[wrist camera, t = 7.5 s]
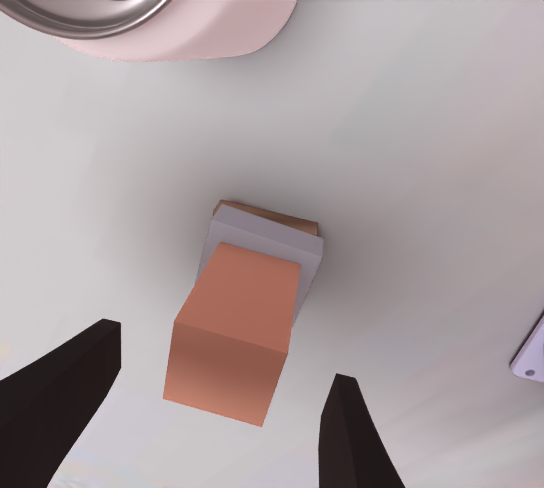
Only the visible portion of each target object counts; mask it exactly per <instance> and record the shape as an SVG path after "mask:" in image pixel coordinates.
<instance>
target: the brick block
mask: <svg viewBox="0 0 544 488" xmlns="http://www.w3.org/2000/svg"><path fill="white" fill-rule="evenodd" d="M300 267H301V264H297V263H294V262H290V261H287V260H283V259H280V258H276V257H273V256H269V255H266V254H262V253H258V252H255V251H251V250H248V249H244V248H241V247H237V246H234V245H230V244H226V243H223V242H220V243H219V244H218V246H217V248H216V250H215V251H214V253H213V255H212V256H211V258H210V260H209V262H208V263H207V265H206V267H205V269H204V270H203V272H202V274H201V276H200V277H199V279H198V281H197V282H196V284H195V286H194V288H193V289H192V291H191V293H190V295H189V296H188V298H187V300H186V302H185V303H184V305H183V307H182V308H181V310H180V312H179V314H178V315H177V317H176V319H175V321H174V326H173V333H172V339H171V346H170V353H169V360H168V366H167V373H166V380H165V387H164V394H163V399H166V400H169V401H173V402H176V403H180V404H183V405H187V406H190V407H194V408H197V409H200V410H204V411H207V412H211V413H214V414H218V415H221V416H225V417H228V418H232V419H235V420H239V421H242V422H246V423H249V424H253V425H256V426H260V427H262V425H263V422H264V419H265V417H266V414H267V411H268V408H269V405H270V403H271V400H272V397H273V394H274V391H275V388H276V386H277V383H278V380H279V377H280V374H281V371H282V369H283V366H284V363H285V360H286V357H287V354H288V349H289V342H290V335H291V328H292V322H293V315H294V308H295V301H296V294H297V287H298V281H299V274H300Z"/></svg>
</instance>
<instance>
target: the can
mask: <svg viewBox="0 0 544 488" xmlns="http://www.w3.org/2000/svg"><path fill="white" fill-rule="evenodd" d="M296 2H297V0H0V11H2V12H3V13H5V14H6V15H8V16H9V17H11V18H13V19H14V20H16V21H18V22H20V23H22V24H24V25H26V26H28V27H30V28H32V29H35V30H37V31H40V32H43V33H45V34H49V35H50V36H52V37H53V38H55V39H57V40H58V41H60V42H62V43H64V44H65V45H67V46H69V47H71V48H74V49H76V50H78V51H81V52H83V53H86V54H89V55H92V56H96V57H100V58H105V59H110V60H116V61H125V62H156V61H177V60H194V59H210V58H223V57H234V56H240V55H246V54H249V53H252V52H255V51H257V50H258V49H260V48H262V47H263V46H265V45H266V44H267V43H268V42H270V41H271V40H272V39H273V38H274V37H275V36H276V35H277V34H278V32H279V31H280V30H281V29H282V28H283V26H284V25H285V24H286V22H287V21H288V19H289V17H290V16H291V14H292V12H293V9H294V7H295V5H296Z"/></svg>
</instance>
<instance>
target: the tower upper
mask: <svg viewBox="0 0 544 488" xmlns="http://www.w3.org/2000/svg"><path fill="white" fill-rule="evenodd" d="M323 240H324V238H321V237H318V236H315V235H312V234H309V233H306V232H303V231H300V230H297V229H294V228H291V227H288V226H285V225H282V224H280V223H277V222H274V221H271V220H268V219H265V218H262V217H259V216H256V215H253V214H250V213H247V212H244V211H241V210H239V209H236V208H233V207H230V206H227V205H224V204H222V205H221V206H220V207H219V209H218V210H217V212H216V213H215V215H214V216H213V217H212V219H211V222H210V226H209V230H208V234H207V238H206V242H205V246H204V250H203V254H202V258H201V262H200V266H199V270H198V274H197V278H196V282H197V281H198V279H199V277H200V276H201V274H202V272H203V270H204V269H205V267H206V265H207V263H208V262H209V260H210V258H211V256H212V255H213V253H214V251H215V250H216V248H217V246H218V244H219V243H220V242H223V243H226V244H230V245H234V246H237V247H241V248H244V249H248V250H251V251H255V252H258V253H262V254H266V255H269V256H273V257H276V258H280V259H283V260H287V261H290V262H294V263H297V264H301V267H300V274H299V281H298V287H297V294H296V301H295V308H294V315H293V322H292V327H293V325H294V322H295V320H296V318H297V316H298V313H299V311H300V309H301V306H302V304H303V302H304V299H305V297H306V295H307V292H308V290H309V288H310V285H311V283H312V281H313V279H314V276H315V274H316V272H317V269H318V267H319V265H320V262H321V260H322V258H323ZM196 282H195V284H196ZM291 329H292V328H291Z"/></svg>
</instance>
